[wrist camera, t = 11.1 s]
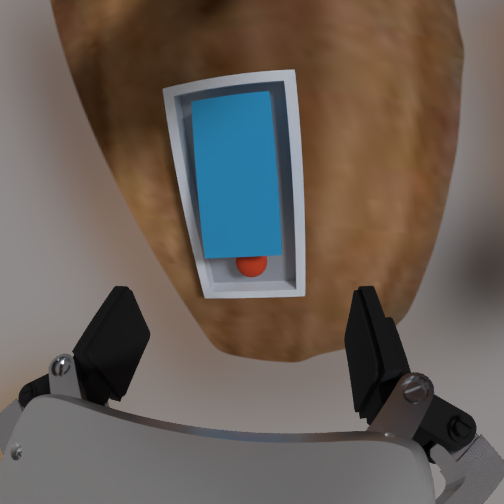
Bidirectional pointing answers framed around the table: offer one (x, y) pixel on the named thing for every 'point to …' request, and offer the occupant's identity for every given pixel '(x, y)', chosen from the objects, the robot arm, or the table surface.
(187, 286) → the table surface
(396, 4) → the table surface
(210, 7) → the table surface
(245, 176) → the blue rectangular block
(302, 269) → the tray
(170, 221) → the table surface
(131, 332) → the robot arm
